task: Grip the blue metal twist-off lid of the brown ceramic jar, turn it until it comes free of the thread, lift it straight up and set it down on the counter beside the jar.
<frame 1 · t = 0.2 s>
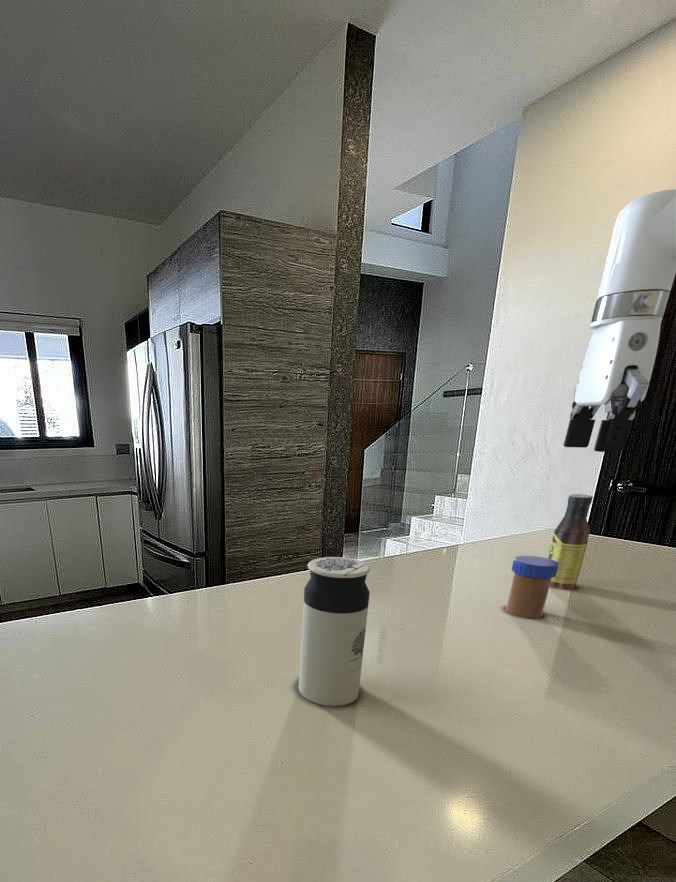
hand: (590, 449, 69), 31 cm above the countertop, tool pointing down, fingers open, 9 cm apart
travel mug: (327, 693, 65), on the countertop
lid: (535, 562, 87), point 10 cm above the countertop, screwed on, not yet turned
jar: (523, 614, 91), on the countertop
sauce bottle: (557, 587, 105), on the countertop
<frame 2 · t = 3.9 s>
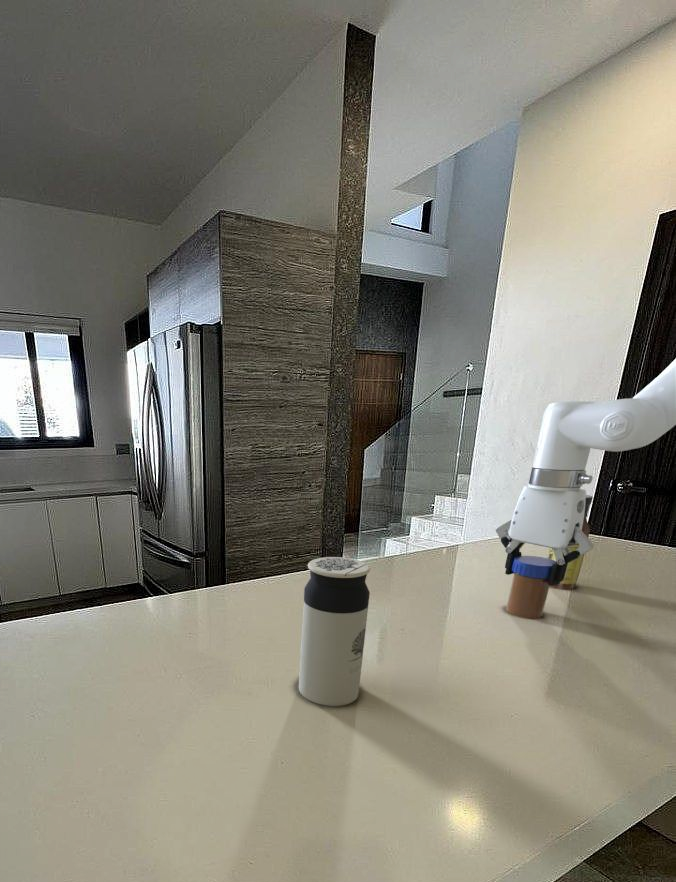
hand: (531, 577, 88), 7 cm above the countertop, tool pointing down, fingers closed on lid, 6 cm apart
lid: (535, 562, 87), point 10 cm above the countertop, screwed on, not yet turned, touching gripper
everything else where it was.
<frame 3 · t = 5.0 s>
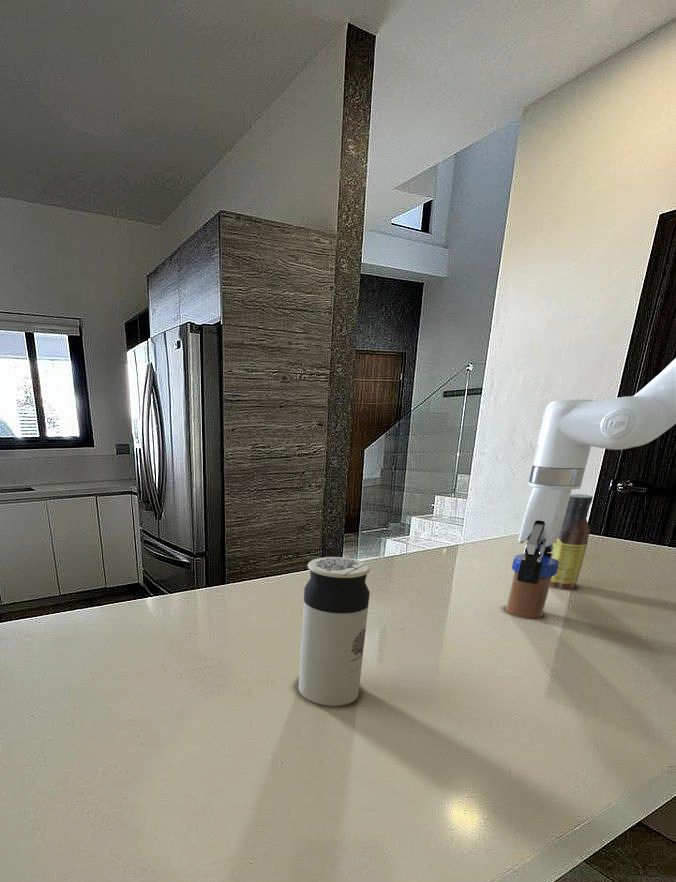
hand: (532, 576, 88), 7 cm above the countertop, tool pointing down, fingers closed on lid, 6 cm apart
lid: (535, 561, 87), point 10 cm above the countertop, turned 106° so far, risen 0.3 cm, still on its thread, touching gripper
everything else where it was.
when the fingers open (6 cm above the countertop, at t = 6.1 s): lid stays where it is, point 10 cm above the countertop.
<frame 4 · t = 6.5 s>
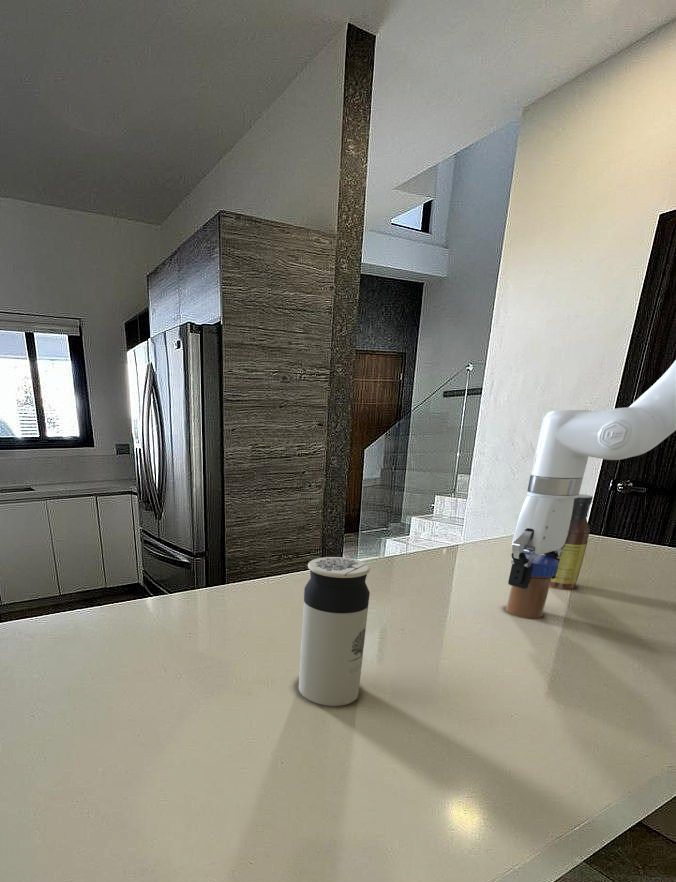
hand: (531, 581, 88), 6 cm above the countertop, tool pointing down, fingers open, 9 cm apart
lid: (535, 561, 87), point 10 cm above the countertop, turned 104° so far, risen 0.3 cm, still on its thread
everything else where it was.
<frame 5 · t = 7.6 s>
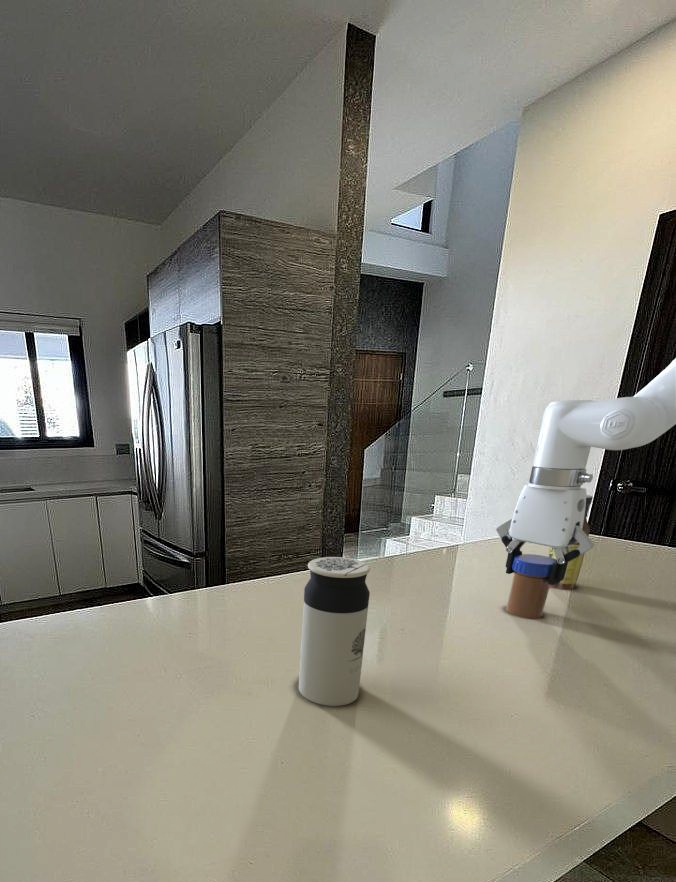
hand: (532, 577, 88), 7 cm above the countertop, tool pointing down, fingers closed on lid, 6 cm apart
lid: (536, 561, 87), point 10 cm above the countertop, turned 104° so far, risen 0.3 cm, still on its thread, touching gripper
everything else where it was.
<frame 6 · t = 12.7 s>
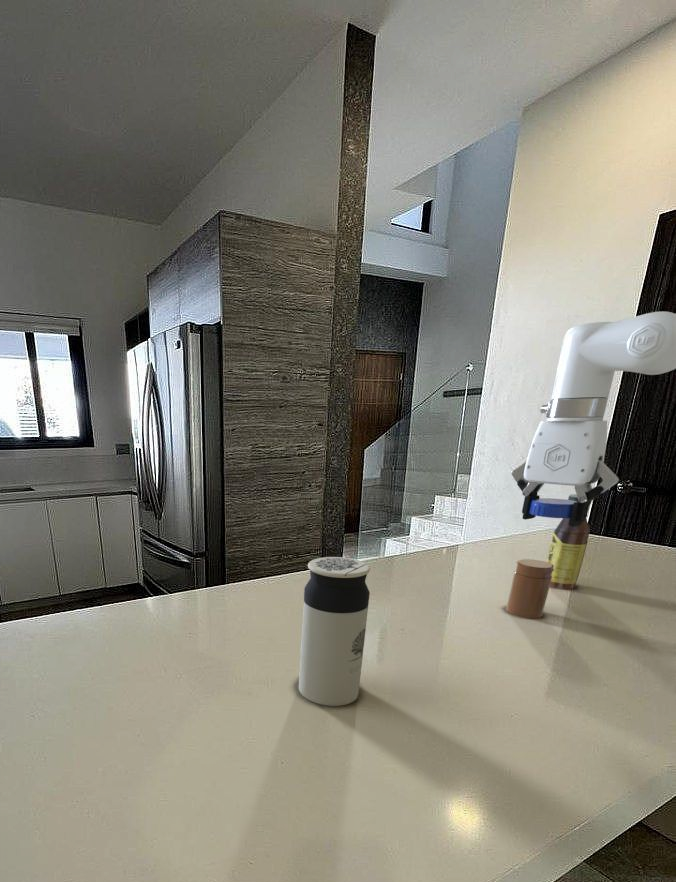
hand: (551, 521, 83), 18 cm above the countertop, tool pointing down, fingers closed on lid, 6 cm apart
lid: (555, 503, 82), point 21 cm above the countertop, off its thread, touching gripper
everything else where it was.
when the fingers open (0 cm above the countertop, at t = 18.1 s): lid drops 1 cm, point 2 cm above the countertop.
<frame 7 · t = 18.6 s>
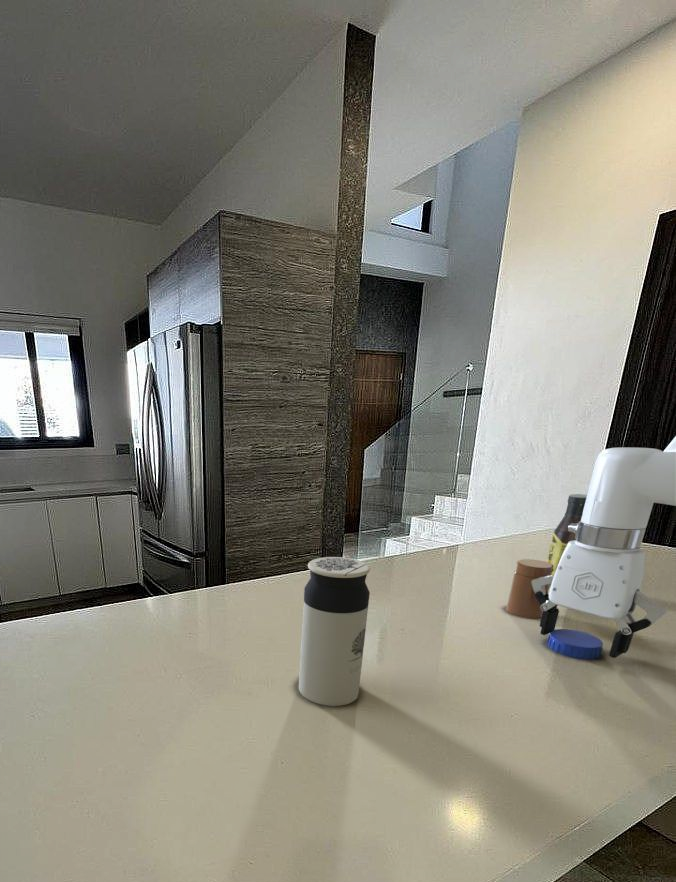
hand: (579, 643, 75), 1 cm above the countertop, tool pointing down, fingers open, 9 cm apart
lid: (575, 640, 76), point 2 cm above the countertop, off its thread
everything else where it was.
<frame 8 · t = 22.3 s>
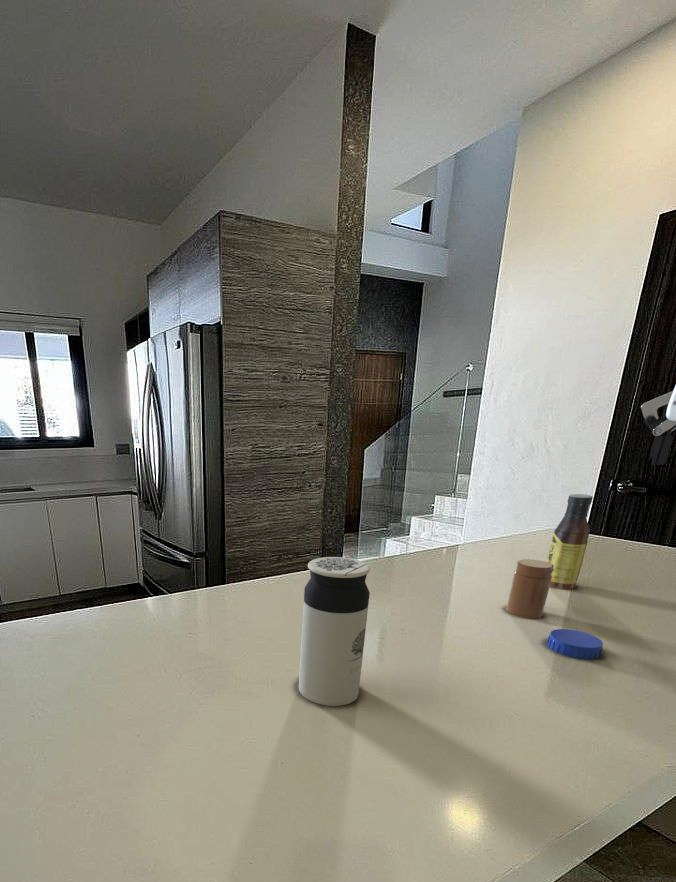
nothing on the countertop moved.
at the end: lid came off its thread; lid point 1.9 cm above the countertop; the gripper is holding nothing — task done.
